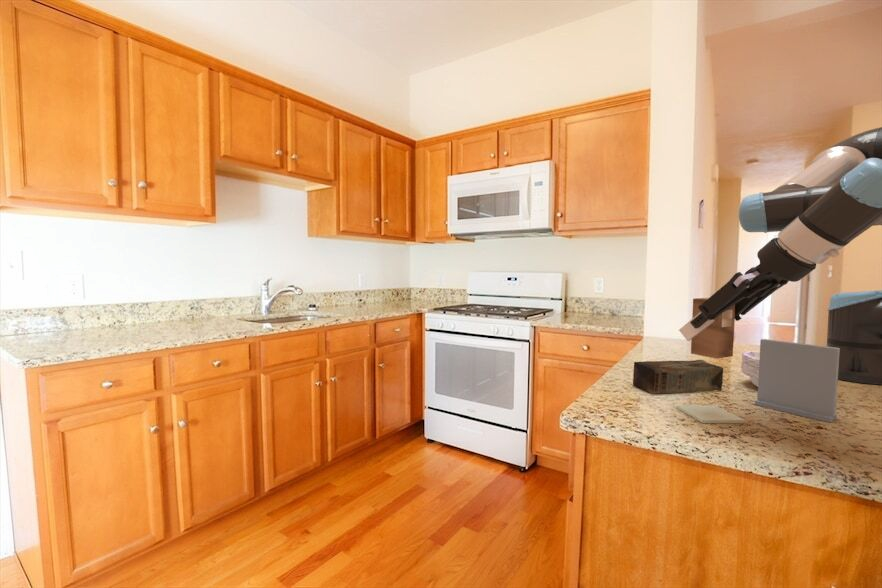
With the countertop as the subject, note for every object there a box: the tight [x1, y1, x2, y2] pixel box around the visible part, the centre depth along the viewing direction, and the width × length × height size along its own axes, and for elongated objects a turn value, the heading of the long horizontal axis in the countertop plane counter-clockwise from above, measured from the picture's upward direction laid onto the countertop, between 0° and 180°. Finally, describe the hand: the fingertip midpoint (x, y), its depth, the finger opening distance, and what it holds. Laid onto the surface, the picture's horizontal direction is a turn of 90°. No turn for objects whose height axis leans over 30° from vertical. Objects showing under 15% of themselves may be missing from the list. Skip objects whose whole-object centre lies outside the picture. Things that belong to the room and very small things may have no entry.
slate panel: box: [754, 338, 840, 423], centre depth 82 cm, size 12×4×14 cm, turn 33°
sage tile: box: [676, 404, 745, 424], centre depth 80 cm, size 8×8×1 cm
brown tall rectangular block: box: [690, 297, 736, 359], centre depth 79 cm, size 5×5×11 cm
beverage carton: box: [632, 359, 724, 395], centre depth 98 cm, size 8×19×7 cm, turn 99°
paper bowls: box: [740, 350, 760, 388], centre depth 97 cm, size 15×15×8 cm
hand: (693, 334), depth 82 cm, fingers closed on brown tall rectangular block, 5 cm apart
